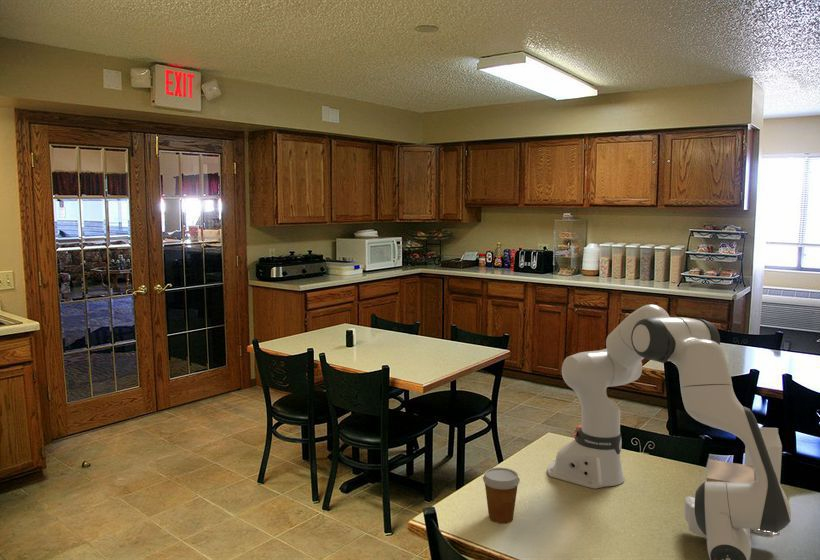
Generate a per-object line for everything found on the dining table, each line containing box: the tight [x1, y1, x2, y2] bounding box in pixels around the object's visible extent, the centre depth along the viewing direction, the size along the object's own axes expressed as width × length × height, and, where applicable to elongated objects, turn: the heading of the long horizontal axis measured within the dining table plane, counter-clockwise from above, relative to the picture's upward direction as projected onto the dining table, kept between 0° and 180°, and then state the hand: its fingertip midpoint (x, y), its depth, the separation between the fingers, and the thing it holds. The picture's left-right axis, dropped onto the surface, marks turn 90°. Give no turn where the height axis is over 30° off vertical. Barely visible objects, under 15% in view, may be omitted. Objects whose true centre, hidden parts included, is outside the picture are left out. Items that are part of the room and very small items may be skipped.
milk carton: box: [744, 426, 783, 485], centre depth 174 cm, size 7×7×19 cm
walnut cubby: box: [706, 458, 754, 483], centre depth 165 cm, size 11×14×10 cm
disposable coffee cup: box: [482, 467, 521, 525], centre depth 161 cm, size 10×10×12 cm
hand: (729, 502), depth 156 cm, fingers closed on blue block, 3 cm apart
